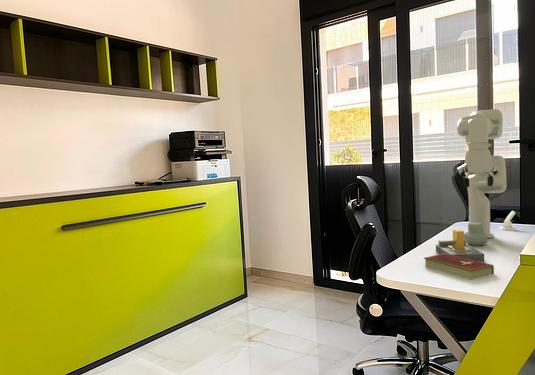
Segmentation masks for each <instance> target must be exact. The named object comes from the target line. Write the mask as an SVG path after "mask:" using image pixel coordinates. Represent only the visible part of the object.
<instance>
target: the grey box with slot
mask: <svg viewBox="0 0 535 375" xmlns="http://www.w3.org/2000/svg"><path fill="white" fill-rule="evenodd" d="M435 253H438V255H439V254H444V253H446V254H450V255H454V256H458V257H463V258H467V259H471V260H475V261H479V262H485V254H484V253H483V252H481V251H479V250H478V249H476V248H474V247H472V245H468V244H467V243H466V241H465V240H464V249H459V250H456V249H454V248H453V239H449V240H446V239H445V240H438V244H435Z"/></svg>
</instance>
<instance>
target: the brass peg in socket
mask: <svg viewBox="0 0 535 375" xmlns="http://www.w3.org/2000/svg"><path fill="white" fill-rule="evenodd" d="M464 234H465V231H464V230H462V229H460V228H458V229H457V228H456V229H452V240H453V248H454V249H456V250H459V249H464Z"/></svg>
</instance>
